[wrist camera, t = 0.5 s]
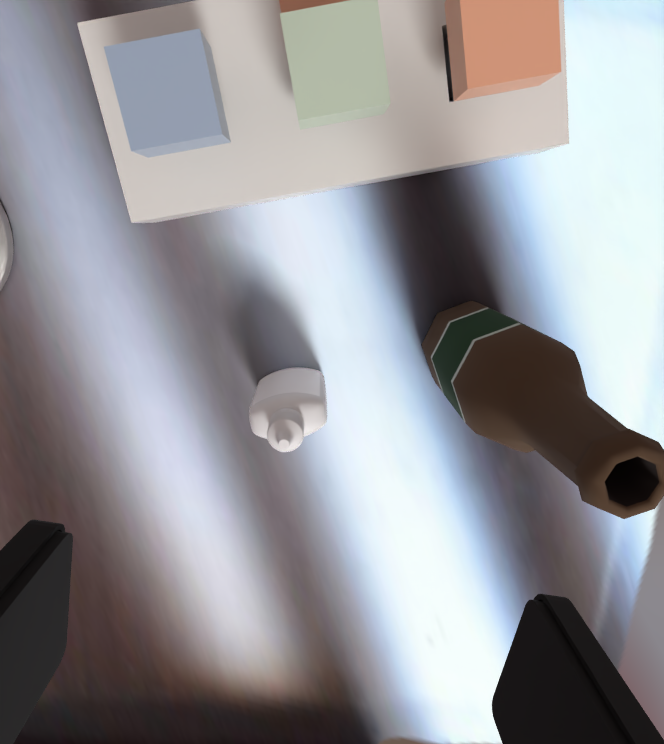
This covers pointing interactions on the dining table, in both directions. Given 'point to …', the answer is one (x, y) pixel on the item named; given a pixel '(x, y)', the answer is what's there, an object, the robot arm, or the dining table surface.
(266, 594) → the dining table surface
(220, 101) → the slate button
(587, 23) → the dining table surface
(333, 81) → the sage button
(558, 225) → the dining table surface
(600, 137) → the dining table surface
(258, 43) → the console
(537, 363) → the beer bottle
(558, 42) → the terracotta button
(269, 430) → the eye dropper bottle
